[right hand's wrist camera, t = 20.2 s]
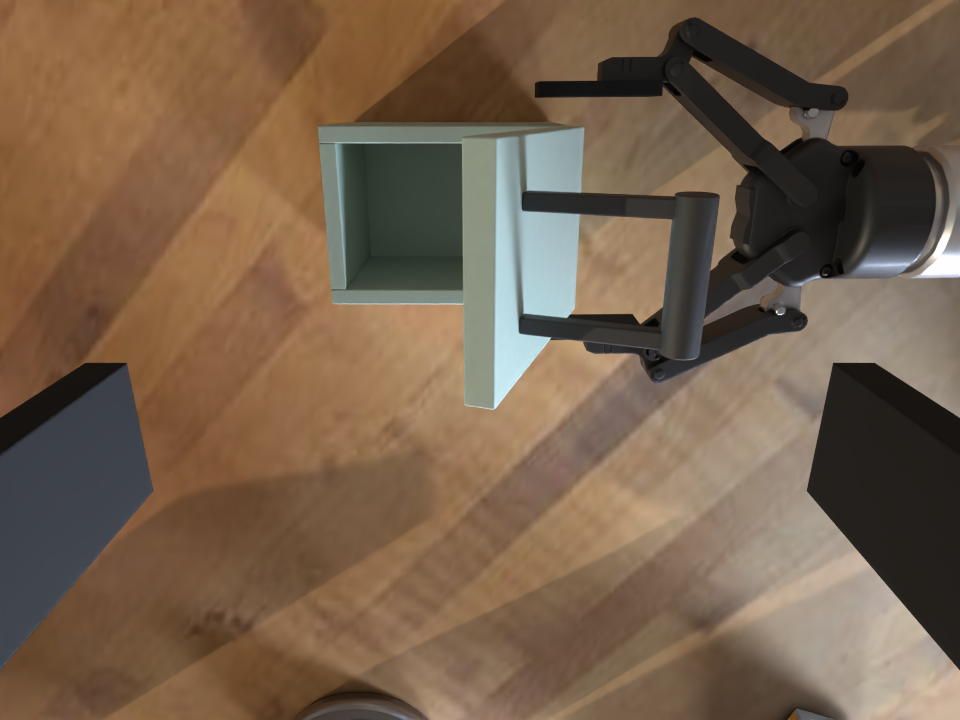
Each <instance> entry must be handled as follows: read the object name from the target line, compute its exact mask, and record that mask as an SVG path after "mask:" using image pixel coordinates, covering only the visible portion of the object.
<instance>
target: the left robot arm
mask: <svg viewBox="0 0 960 720" xmlns="http://www.w3.org/2000/svg"><path fill="white" fill-rule="evenodd" d="M691 56H692V57H693V58H695V59H697V60H699V61H700V62H702V63H704V64H706V65H707V66H709V67H711V68H713V69H714V70H716V71H718V72H720V73H721V74H723V75H725V76H727V77H728V78H730V79H732V80H734V81H735V82H737V83H739V84H741V85H742V86H744V87H746V88H748V89H749V90H751V91H753V92H755V93H757V94H758V95H760V96H762V97H764V98H765V99H767V100H769V101H771V102H773V103H775V104H777V105H780V106H783V107H788V108H790V111H789V117H790V119H791V121H792V122H793V123H796V124H798V125H799V126H800V127H801V129H802V132H803V134H802V138H799V139H797V140H795V141H794V142H792V143H791V144H789V145H788V146H786V147H785V148H784V149H782V150H781V151H779V150H778V149H777V148H776V147H775V146H774V145H772V144H771V143H770V142H768V141H767V140H765V139H764V138H763V137H761V136H760V135H759V134H758V133H757V131H756V130H755V129H754V128H753V127H752V126H751V125H750V124H749V123H748V122H747V121H746V120H745V119H744V118H743V117H742V116H741V115H740V114H739V113H738V112H737V111H736V110H735V109H734V108H733V107H732V106H731V105H730V104H729V103H728V102H727V101H726V100H725V99H724V98H723V97H722V96H721V95H720V94H719V93H718V92H717V91H716V90H715V89H714V88H713V87H712V86H711V85H710V84H709V83H708V82H707V81H706V80H705V79H704V78H703V77H702V76H701V75H700V74H699V73H698V72H697V71H696V70H695V69H694V68H693V67H692V66H691V65H690V64H689V61H690V59H691ZM663 87H664V88H665V89H666V90H667V91H668V92H669V93H670V94H671V95H672V96H673V97H674V98H675V99H676V100H677V101H678V102H679V103H680V104H681V105H682V106H683V107H684V108H685V109H686V110H687V111H689V112H690V113H691V114H692V115H693V116H694V117H695V118H696V119H697V120H698V121H699V122H700V123H701V124H702V125H703V126H704V127H705V128H706V129H707V130H708V131H709V132H710V133H711V134H712V135H713V136H714V137H715V138H716V139H717V140H718V141H719V142H720V143H721V144H722V145H723V146H724V147H725V148H726V149H727V150H728V151H729V152H730V153H731V154H732V157H733V158H734V159H735V160H736V161H737V162H738V163H739V164H740V165H741V166H742V167H743V168H744V169H745V170H746V171H747V172H748V174H747V175H746V176H745V177H744V179H743V181H742V182H741V185H737V187H736V195H735V202H736V209H737V213H736V215H735V218H734V220H733V223H732V226H731V234H730V238H731V239H733V242H734V245H735V247H736V248H735V249H734V250H732V251H731V252H730V253H728V254H727V255H726V256H725V257H723V258H722V259H721V260H720V261H719V263H718V265H717V266H716V267H715V268H714V269H713V270H711V271H710V276H709V284H708V291H707V299H706V307H705V315H704V318H706V317H707V316H708V315H710V314H711V313H713V312H714V311H715V310H717V309H718V308H719V307H721V306H722V305H723V304H725V303H726V302H727V301H729V300H730V299H731V298H733V297H734V296H735V295H737V294H738V293H739V292H741V291H743V290H747V289H750V288H752V287H754V286H755V285H756V284H758V283H759V282H761V281H762V280H763V279H765V278H766V277H767V276H770V277H771V278H772V279H773V280H775V281H777V282H778V287H777V289H776V290H775V291H774V292H773V293H771V294H769V295H766V296H764V297H762V298H761V300H760V304H756V305H752V306H749V307H746V308H743V309H741V310H738V311H736V312H734V313H732V314H729V315H727V316H725V317H723V318H721V319H718V320H716V321H714V322H712V323H710V324H708V325H705V326H703V330H702V338H701V345H700V353H699V356H698V357H697V358H696V359H692V360H675V359H670V358H667V357H664V356H662V355H661V354H660V353H659V350H654V349H645V348H636V347H628V346H619V345H610V344H602V343H593V342H583V343H584V345H585V348H586V350H587V351H589V352H592V353H594V354H603V353H605V354H610V353H611V354H616V353H633V354H638V355H639V356H640V359H641V360H640V361H641V365H642V366H643V368H644V370H645V371H646V373H647V374H648V376H649V377H650V379H651V380H652V381H653V382H655V383H661V382H664V381H666V380H668V379H671V378H673V377H675V376H677V375H680V374H682V373H684V372H686V371H688V370H691V369H693V368H695V367H697V366H700V365H702V364H704V363H706V362H709V361H711V360H713V359H715V358H718V357H720V356H722V355H724V354H727V353H729V352H731V351H733V350H736V349H738V348H740V347H742V346H745V345H747V344H749V343H751V342H754V341H756V340H758V339H760V338H763V337H765V336H767V335H770V334H779V333H788V332H797V331H800V330H802V329H803V328H805V326H806V325H807V322H808V320H807V316H806V315H805V314H804V313H802V312H800V298H801V286H802V285H804V284H806V283H807V282H810V281H812V280H816V279H856V278H891V277H894V276H897V277H900V278H949V277H960V145H924V146H916V147H913V148H911V147H908V146H836V145H834V144H832V143H830V142H829V141H827V137H828V133H829V130H830V126H831V123H832V119H833V115H834V112H835V111H836V110H839V109H841V108H843V107H844V106H845V105H846V103H847V101H848V93H847V90H846V89H845V88H843V87H840V86H832V85H823V84H815V83H809V82H807V81H805V80H804V79H802V78H800V77H798V76H797V75H795V74H793V73H792V72H790V71H788V70H786V69H785V68H783V67H781V66H779V65H778V64H776V63H774V62H773V61H771V60H769V59H767V58H766V57H764V56H762V55H761V54H759V53H757V52H755V51H754V50H752V49H750V48H749V47H747V46H745V45H743V44H742V43H740V42H738V41H737V40H735V39H733V38H731V37H730V36H728V35H726V34H725V33H723V32H721V31H719V30H718V29H716V28H714V27H712V26H711V25H709V24H707V23H706V22H704V21H702V20H700V19H698V18H689V19H687V20H685V21H682V22H680V23H678V24H676V25H674V26H673V27H672V28H671V30H670V32H669V39H668V41H667V44H666V46H665V48H664V50H663V52H662V53H661V54H660V55H659V56H658V57H612V58H609V59H607V60H605V61H602V62H600V63H598V75H597V81H539V82H537V83H535V98H544V97H652V96H662V90H663ZM662 313H663V308H661V309H660V310H659V311H657V312H656V313H655V314H653V315H652V316H651V317H650V318H648V319H647V320H646V321H644V322H643V323H642V324H639V322H638V321H637V320H636V318H635V317H634V316H633V314H581V315H569V316H568V317H567V318H573V319H582V320H592V321H602V322H611V323H621V324H630V325H640V326H650V327H659V328H661V322H662ZM550 340H567V339H558V338H551V339H550Z"/></svg>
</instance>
